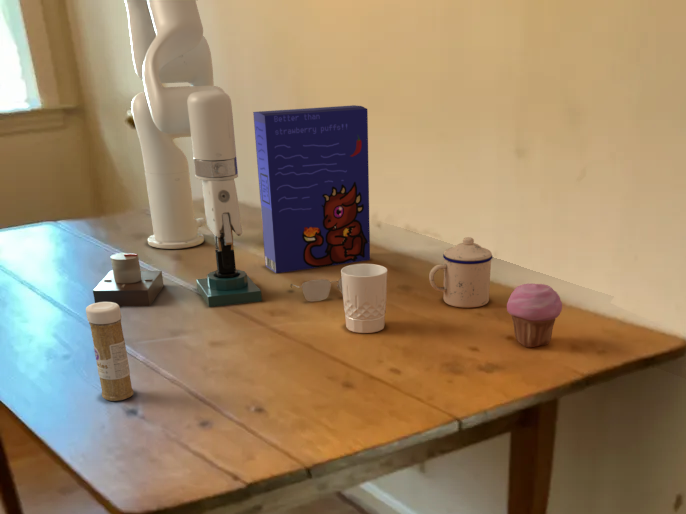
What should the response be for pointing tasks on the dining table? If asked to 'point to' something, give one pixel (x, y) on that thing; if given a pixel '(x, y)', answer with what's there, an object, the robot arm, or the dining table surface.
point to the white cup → (364, 297)
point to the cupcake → (534, 313)
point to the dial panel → (130, 290)
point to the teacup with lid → (465, 275)
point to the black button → (226, 274)
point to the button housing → (228, 290)
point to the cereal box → (313, 186)
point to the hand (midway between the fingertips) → (226, 271)
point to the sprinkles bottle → (110, 350)
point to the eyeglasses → (318, 289)
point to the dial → (126, 268)
